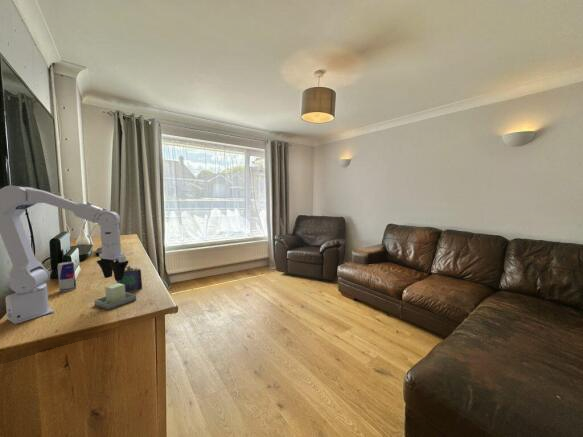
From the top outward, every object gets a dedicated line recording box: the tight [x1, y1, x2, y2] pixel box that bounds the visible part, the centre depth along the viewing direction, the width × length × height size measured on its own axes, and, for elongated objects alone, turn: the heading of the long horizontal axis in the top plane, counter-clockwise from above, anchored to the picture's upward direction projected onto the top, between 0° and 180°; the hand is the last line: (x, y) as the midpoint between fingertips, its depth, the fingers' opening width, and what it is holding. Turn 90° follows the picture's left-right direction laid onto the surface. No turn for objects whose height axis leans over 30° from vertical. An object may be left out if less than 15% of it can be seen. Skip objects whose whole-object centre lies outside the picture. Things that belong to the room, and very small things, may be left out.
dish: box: [94, 291, 137, 311], centre depth 91 cm, size 10×10×2 cm
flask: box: [116, 265, 143, 292], centre depth 104 cm, size 9×3×11 cm, turn 109°
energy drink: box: [56, 261, 77, 293], centre depth 105 cm, size 5×5×12 cm
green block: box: [104, 282, 126, 303], centre depth 91 cm, size 4×4×6 cm
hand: (113, 278), depth 91 cm, fingers open, 7 cm apart
